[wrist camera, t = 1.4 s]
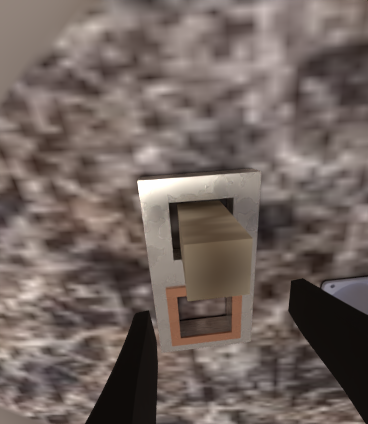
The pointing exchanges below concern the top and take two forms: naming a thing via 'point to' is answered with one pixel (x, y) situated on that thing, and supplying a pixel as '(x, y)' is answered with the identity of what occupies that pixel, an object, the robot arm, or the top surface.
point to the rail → (172, 259)
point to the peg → (213, 251)
